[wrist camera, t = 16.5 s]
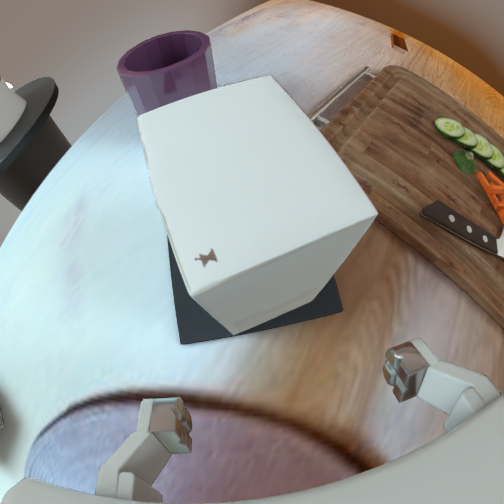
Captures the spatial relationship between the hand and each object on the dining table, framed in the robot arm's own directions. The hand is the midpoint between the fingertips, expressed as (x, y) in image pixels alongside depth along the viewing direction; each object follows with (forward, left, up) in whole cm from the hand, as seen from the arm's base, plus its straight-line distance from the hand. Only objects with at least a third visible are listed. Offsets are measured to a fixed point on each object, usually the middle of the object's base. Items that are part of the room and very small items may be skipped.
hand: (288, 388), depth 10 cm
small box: (0, +8, -9) cm, 12 cm away
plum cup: (-4, +26, -10) cm, 28 cm away
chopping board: (+29, +10, -10) cm, 32 cm away
